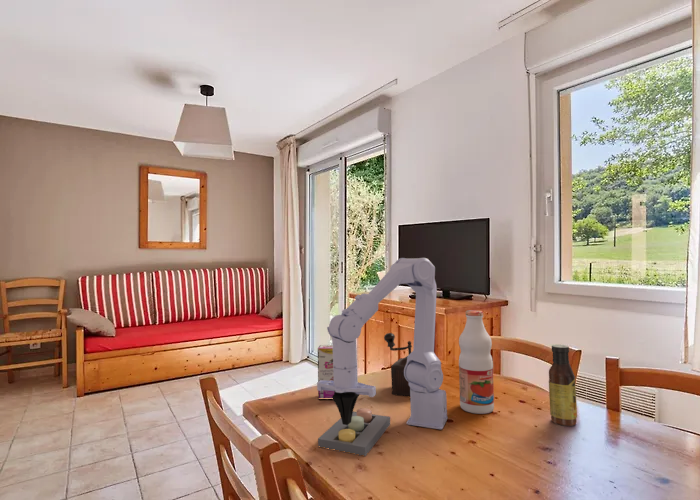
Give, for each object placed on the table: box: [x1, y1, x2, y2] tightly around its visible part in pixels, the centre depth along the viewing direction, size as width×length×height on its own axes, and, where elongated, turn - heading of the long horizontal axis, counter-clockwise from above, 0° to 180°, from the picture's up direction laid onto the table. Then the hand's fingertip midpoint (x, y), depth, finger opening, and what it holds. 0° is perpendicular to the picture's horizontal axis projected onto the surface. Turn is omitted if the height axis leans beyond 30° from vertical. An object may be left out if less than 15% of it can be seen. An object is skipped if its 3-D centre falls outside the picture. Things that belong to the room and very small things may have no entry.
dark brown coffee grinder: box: [383, 332, 413, 398], centre depth 133 cm, size 16×11×18 cm
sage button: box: [348, 416, 364, 433], centre depth 101 cm, size 4×4×2 cm
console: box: [317, 411, 391, 457], centre depth 101 cm, size 12×18×2 cm, turn 156°
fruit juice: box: [458, 309, 495, 415], centre depth 116 cm, size 9×9×28 cm
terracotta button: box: [356, 407, 373, 423], centre depth 106 cm, size 4×4×2 cm
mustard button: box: [339, 429, 355, 443], centre depth 95 cm, size 4×4×2 cm
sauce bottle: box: [548, 344, 578, 427], centre depth 105 cm, size 7×6×20 cm
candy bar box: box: [317, 344, 334, 398], centre depth 127 cm, size 11×5×16 cm, turn 84°
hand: (346, 423), depth 96 cm, fingers closed
